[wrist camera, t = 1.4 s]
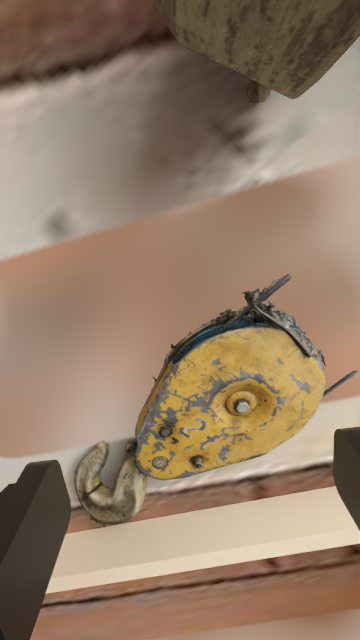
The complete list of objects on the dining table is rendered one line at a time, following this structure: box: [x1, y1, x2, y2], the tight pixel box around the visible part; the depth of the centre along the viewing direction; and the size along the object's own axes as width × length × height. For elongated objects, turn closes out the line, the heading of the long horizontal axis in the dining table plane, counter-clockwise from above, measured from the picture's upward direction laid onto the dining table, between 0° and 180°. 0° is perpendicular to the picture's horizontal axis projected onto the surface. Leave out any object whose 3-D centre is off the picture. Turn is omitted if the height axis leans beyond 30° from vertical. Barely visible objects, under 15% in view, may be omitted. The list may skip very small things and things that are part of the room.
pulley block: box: [74, 274, 357, 528], centre depth 31 cm, size 14×6×30 cm
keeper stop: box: [45, 486, 360, 594], centre depth 34 cm, size 48×4×7 cm, turn 104°
